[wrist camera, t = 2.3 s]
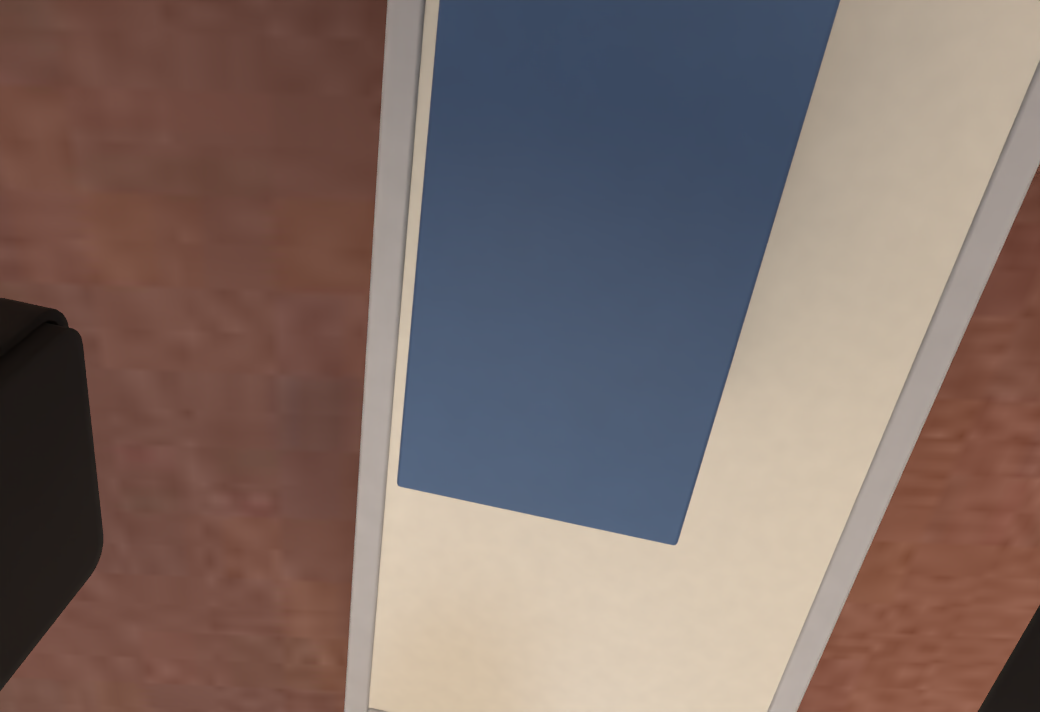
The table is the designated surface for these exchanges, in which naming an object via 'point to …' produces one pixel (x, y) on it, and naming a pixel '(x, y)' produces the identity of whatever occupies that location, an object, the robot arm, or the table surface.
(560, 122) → the eraser
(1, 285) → the table surface
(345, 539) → the table surface
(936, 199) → the whiteboard
